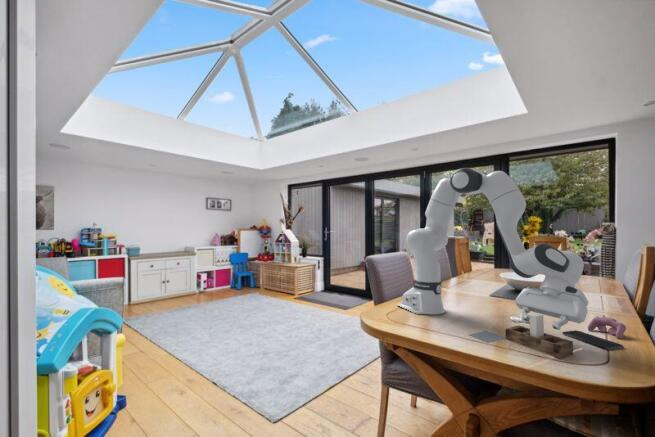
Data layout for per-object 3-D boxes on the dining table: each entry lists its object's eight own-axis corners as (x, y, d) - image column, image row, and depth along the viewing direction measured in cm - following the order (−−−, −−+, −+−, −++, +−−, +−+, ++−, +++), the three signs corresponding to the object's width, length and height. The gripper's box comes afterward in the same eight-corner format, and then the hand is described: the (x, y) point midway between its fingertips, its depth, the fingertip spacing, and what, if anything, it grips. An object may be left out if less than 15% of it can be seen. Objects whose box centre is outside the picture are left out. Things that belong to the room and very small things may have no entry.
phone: (607, 348, 95) (560, 332, 110) (607, 352, 95) (560, 335, 110) (625, 345, 97) (577, 330, 111) (625, 349, 97) (577, 333, 111)
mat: (467, 336, 108) (467, 334, 108) (486, 331, 112) (485, 330, 112) (487, 343, 101) (487, 342, 101) (506, 338, 105) (506, 337, 105)
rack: (505, 340, 104) (505, 328, 104) (519, 336, 107) (518, 325, 107) (559, 359, 89) (559, 345, 89) (573, 354, 92) (572, 341, 93)
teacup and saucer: (508, 322, 124) (508, 312, 124) (514, 318, 130) (514, 308, 130) (533, 327, 118) (532, 317, 118) (538, 323, 123) (538, 313, 123)
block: (530, 342, 98) (529, 315, 99) (537, 340, 100) (536, 313, 100) (536, 344, 97) (536, 316, 97) (543, 342, 98) (543, 315, 98)
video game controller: (625, 342, 105) (629, 323, 107) (618, 338, 104) (623, 319, 105) (591, 333, 115) (596, 315, 116) (585, 329, 113) (589, 311, 114)
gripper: (521, 280, 112) (505, 310, 107) (587, 291, 93) (571, 327, 89) (528, 291, 114) (513, 320, 109) (594, 304, 95) (579, 339, 91)
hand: (539, 324), depth 99 cm, fingers open, 8 cm apart
